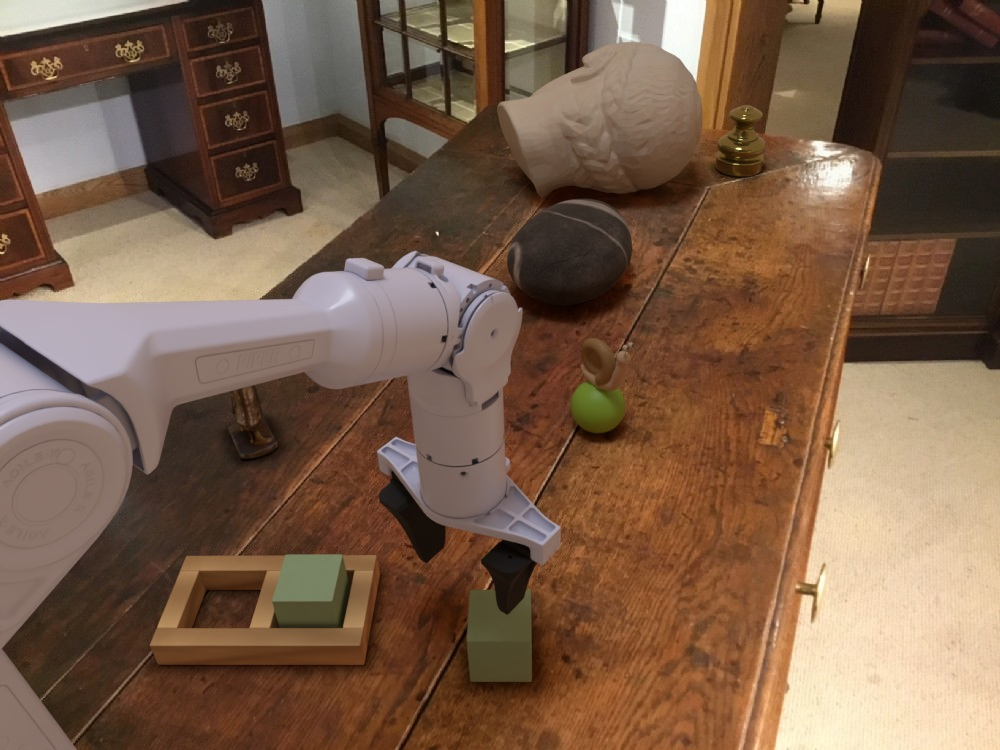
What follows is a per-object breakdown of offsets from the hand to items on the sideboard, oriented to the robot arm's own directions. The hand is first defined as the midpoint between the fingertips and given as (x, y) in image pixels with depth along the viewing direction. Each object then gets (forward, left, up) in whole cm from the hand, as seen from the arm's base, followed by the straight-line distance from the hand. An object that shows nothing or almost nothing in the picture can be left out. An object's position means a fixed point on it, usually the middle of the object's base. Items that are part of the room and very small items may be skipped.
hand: (470, 577), depth 62 cm
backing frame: (-8, +14, -7) cm, 18 cm away
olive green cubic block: (0, -3, -7) cm, 8 cm away
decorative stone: (+49, +23, -8) cm, 55 cm away
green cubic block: (-6, +12, -7) cm, 15 cm away
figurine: (+5, +32, -8) cm, 34 cm away
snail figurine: (+27, +5, -8) cm, 29 cm away
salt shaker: (+94, +21, -8) cm, 97 cm away
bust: (+77, +37, -8) cm, 86 cm away
